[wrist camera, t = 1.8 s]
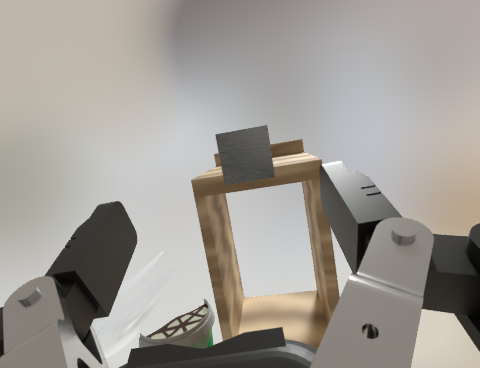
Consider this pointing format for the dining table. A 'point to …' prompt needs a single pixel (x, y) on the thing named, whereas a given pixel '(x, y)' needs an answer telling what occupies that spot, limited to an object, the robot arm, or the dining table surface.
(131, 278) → the dining table surface
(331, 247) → the shelf stand
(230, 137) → the bar
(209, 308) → the food container
